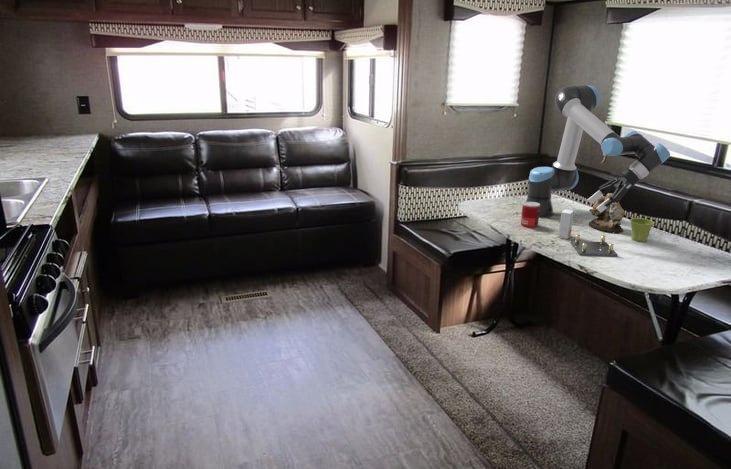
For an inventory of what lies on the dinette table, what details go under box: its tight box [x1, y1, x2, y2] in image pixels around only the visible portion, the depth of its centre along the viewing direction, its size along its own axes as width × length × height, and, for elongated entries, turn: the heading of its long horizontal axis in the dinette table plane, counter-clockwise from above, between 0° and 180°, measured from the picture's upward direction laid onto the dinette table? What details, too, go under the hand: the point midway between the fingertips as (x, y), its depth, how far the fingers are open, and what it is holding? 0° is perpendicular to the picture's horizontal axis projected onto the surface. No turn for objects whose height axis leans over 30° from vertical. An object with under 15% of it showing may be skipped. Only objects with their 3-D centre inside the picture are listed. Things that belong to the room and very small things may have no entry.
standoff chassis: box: [569, 234, 618, 258], centre depth 227 cm, size 15×15×4 cm
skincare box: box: [558, 208, 575, 240], centre depth 241 cm, size 6×4×12 cm
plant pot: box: [629, 217, 655, 243], centre depth 238 cm, size 9×9×9 cm
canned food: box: [520, 201, 540, 229], centre depth 257 cm, size 8×8×11 cm
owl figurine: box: [588, 192, 625, 234], centre depth 252 cm, size 18×12×17 cm, turn 30°
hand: (593, 206), depth 237 cm, fingers open, 13 cm apart
